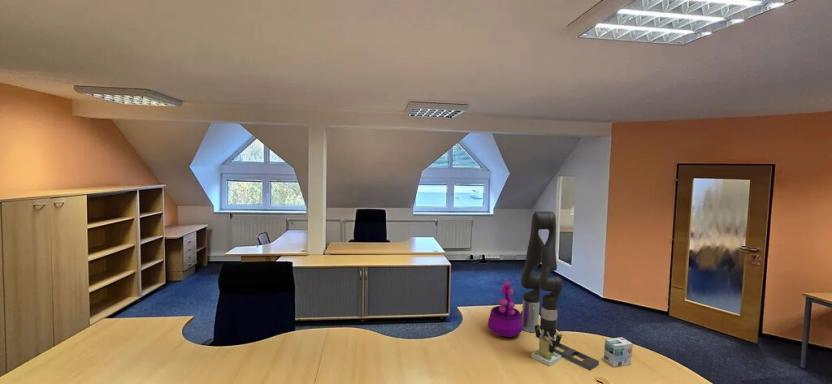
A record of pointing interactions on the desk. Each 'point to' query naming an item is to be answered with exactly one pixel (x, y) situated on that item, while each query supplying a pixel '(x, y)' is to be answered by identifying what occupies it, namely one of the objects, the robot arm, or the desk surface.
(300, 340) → the desk surface
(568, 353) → the rail
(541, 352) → the tan rectangular block
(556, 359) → the parts tray
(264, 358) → the desk surface
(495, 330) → the decorative plant
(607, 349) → the light bulb box
